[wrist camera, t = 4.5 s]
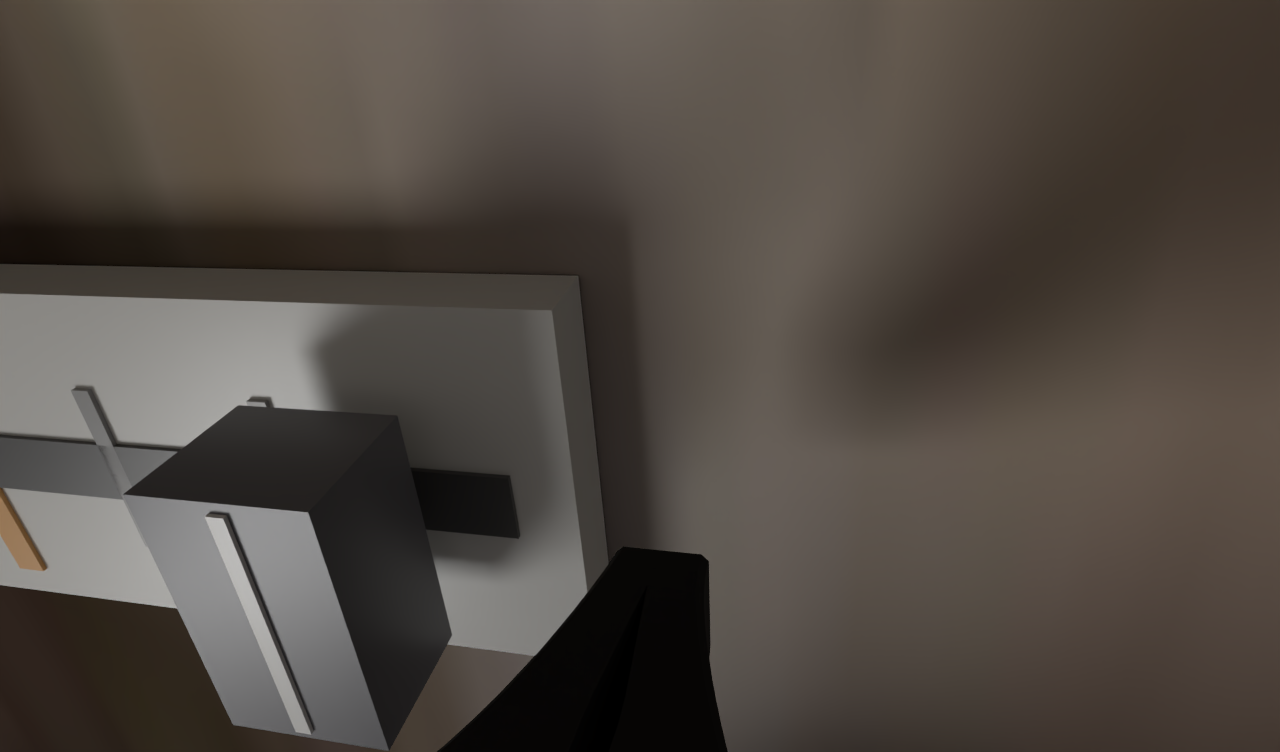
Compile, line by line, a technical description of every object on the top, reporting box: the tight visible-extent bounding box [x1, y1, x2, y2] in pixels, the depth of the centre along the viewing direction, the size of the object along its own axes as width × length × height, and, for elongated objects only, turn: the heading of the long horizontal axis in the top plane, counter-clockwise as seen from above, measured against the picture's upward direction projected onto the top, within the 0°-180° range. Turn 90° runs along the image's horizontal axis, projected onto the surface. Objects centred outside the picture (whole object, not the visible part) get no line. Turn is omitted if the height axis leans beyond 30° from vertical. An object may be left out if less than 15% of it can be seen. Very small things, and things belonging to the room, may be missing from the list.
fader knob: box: [123, 405, 452, 751], centre depth 13 cm, size 3×5×4 cm, turn 4°
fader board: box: [0, 264, 609, 656], centre depth 17 cm, size 20×8×2 cm, turn 94°
